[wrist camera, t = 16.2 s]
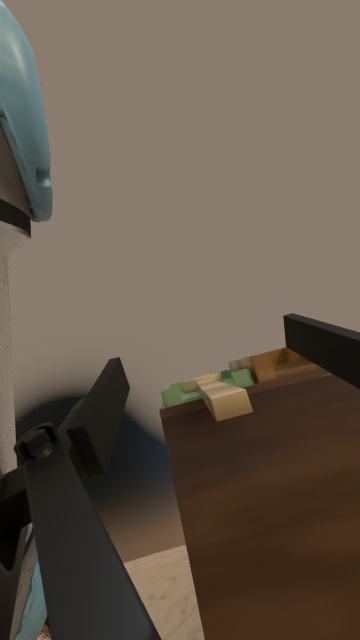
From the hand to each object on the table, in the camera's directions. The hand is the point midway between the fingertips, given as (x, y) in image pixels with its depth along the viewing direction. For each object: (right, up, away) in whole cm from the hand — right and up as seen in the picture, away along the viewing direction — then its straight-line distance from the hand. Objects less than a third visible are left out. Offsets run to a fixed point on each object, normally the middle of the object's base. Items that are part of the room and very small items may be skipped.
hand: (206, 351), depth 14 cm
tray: (+2, -8, +12) cm, 15 cm away
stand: (+14, -34, +5) cm, 37 cm away
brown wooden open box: (+12, -5, +13) cm, 18 cm away
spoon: (+1, -6, +6) cm, 8 cm away
